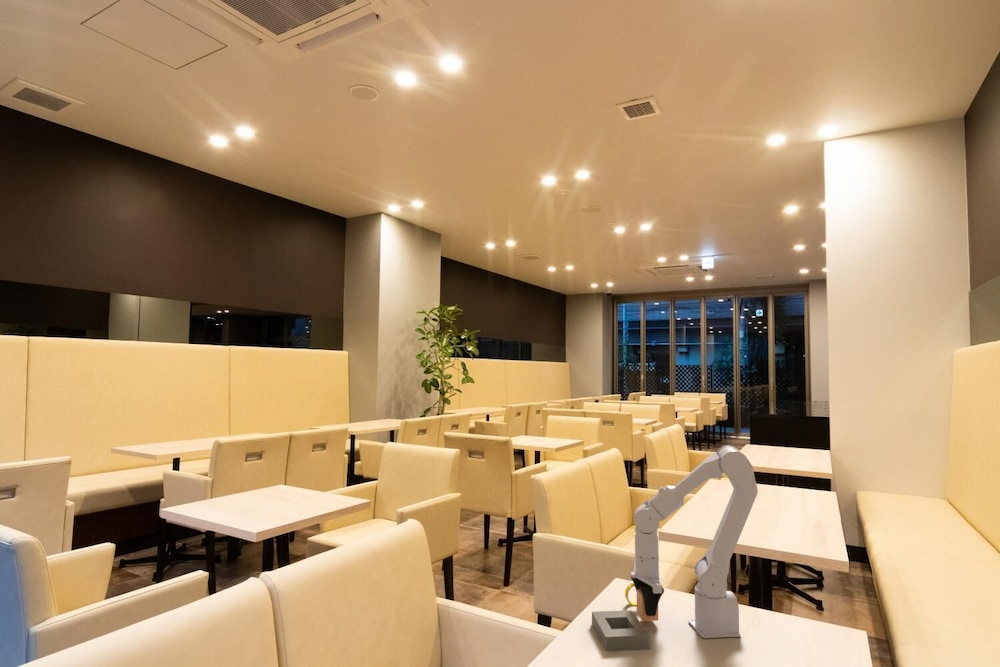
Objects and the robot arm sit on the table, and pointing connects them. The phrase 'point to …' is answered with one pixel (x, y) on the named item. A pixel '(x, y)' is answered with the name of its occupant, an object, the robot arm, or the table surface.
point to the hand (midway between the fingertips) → (647, 610)
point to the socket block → (620, 630)
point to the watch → (627, 593)
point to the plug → (641, 608)
